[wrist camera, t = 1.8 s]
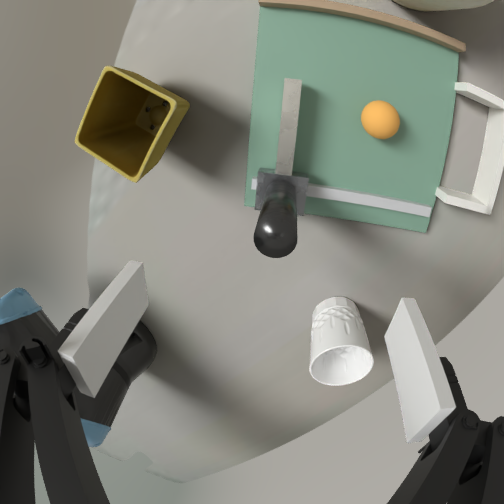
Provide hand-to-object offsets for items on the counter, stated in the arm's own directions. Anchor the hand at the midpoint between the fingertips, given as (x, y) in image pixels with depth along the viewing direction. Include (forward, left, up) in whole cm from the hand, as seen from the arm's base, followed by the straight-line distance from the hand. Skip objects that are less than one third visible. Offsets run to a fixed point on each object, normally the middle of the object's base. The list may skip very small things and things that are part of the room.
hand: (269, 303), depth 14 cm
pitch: (+7, +9, -22) cm, 24 cm away
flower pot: (-15, +7, -22) cm, 28 cm away
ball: (+9, +9, -18) cm, 22 cm away
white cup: (+10, -18, -22) cm, 30 cm away
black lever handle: (0, +5, -20) cm, 20 cm away
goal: (+22, +9, -22) cm, 32 cm away
